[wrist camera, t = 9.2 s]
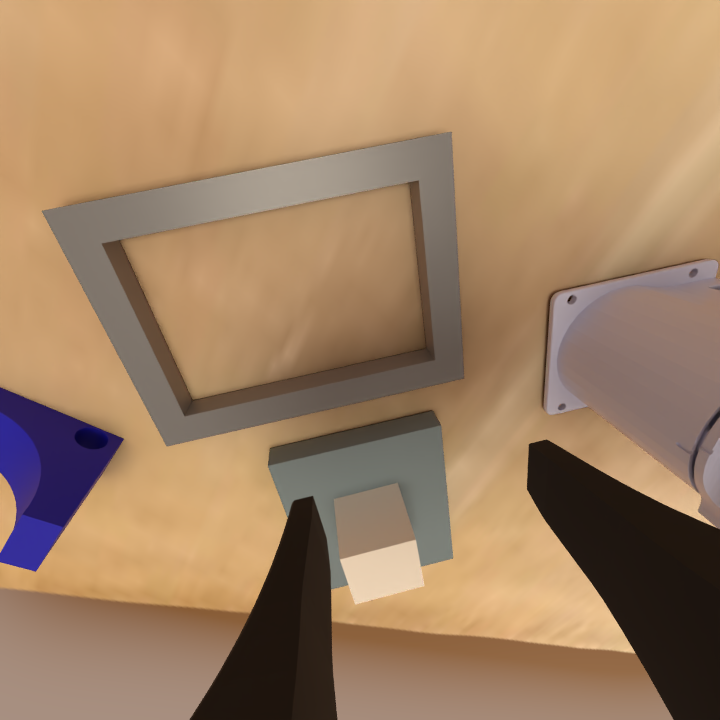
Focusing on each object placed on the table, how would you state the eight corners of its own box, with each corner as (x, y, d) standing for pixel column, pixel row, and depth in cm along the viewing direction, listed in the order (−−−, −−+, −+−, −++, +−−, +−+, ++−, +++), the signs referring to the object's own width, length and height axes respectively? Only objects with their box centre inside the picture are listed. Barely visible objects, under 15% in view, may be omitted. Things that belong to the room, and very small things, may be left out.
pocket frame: (439, 135, 16) (451, 131, 15) (453, 365, 21) (464, 378, 20) (64, 208, 15) (41, 210, 14) (175, 429, 20) (166, 446, 19)
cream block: (397, 482, 22) (415, 539, 19) (406, 526, 24) (424, 585, 21) (333, 499, 22) (339, 559, 19) (347, 542, 24) (355, 604, 21)
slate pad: (432, 410, 22) (441, 425, 21) (445, 540, 28) (453, 558, 26) (269, 448, 22) (267, 466, 20) (315, 572, 27) (316, 593, 26)
